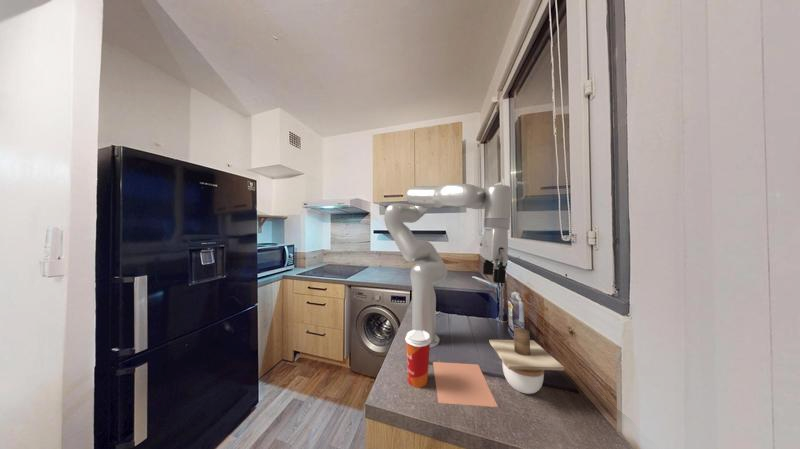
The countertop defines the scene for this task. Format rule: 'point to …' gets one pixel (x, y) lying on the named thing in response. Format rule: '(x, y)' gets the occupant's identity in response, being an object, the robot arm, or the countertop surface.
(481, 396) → the terracotta mat
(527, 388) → the lidded jar
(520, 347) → the birch lid
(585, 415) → the countertop surface
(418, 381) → the paper cup
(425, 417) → the countertop surface
